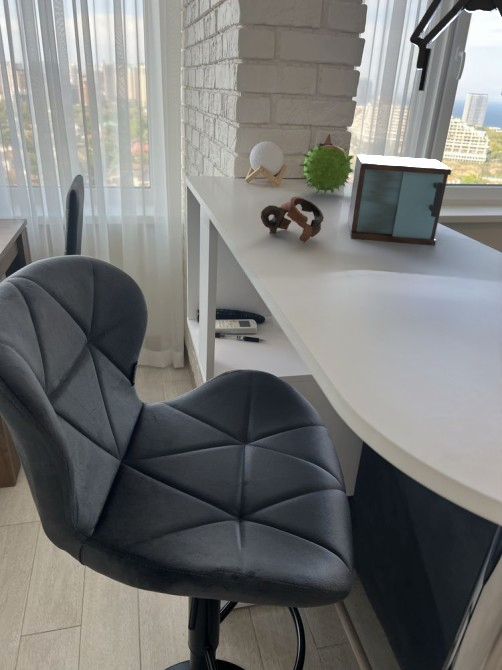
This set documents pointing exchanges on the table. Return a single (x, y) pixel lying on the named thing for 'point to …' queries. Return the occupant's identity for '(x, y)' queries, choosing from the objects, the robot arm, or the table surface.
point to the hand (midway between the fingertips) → (461, 93)
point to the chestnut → (327, 167)
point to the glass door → (418, 204)
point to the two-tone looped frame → (293, 217)
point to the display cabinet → (385, 196)
